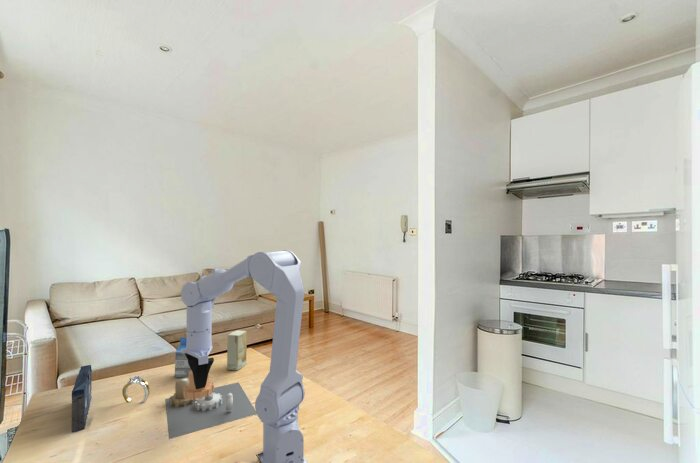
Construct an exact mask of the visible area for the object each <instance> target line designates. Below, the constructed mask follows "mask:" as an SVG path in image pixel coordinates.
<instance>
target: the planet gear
mask: <svg viewBox="0 0 700 463" xmlns="http://www.w3.org/2000/svg"><path fill="white" fill-rule="evenodd" d="M188 378H189V384H188V385H187V387H185V388H183V395H184V398H189V399H190V400H193V399H198V398H199V399H202V397H206V396H209V395H211V393H212V392H214V388H215V384H214V382H213V381H210V372H209V373H208V378H207V383H206V386H205V388H200V389H196V388H195V384H194V378H193V373H192V370H190V371H189V377H188Z"/></svg>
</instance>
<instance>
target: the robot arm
mask: <svg viewBox="0 0 700 463" xmlns="http://www.w3.org/2000/svg"><path fill="white" fill-rule="evenodd" d="M301 268H302V262H301V260H300V259H299V258H298V256H297V255H296V253H294V252H293V251H291V250H289V249H285V250H280V251H279V250H277V251H265V252H264V251H259V252H255V253H254V254H251V255H248V256H246V258H245V259H244V260H242V261H240V262H238V263H236V265H234V266H231V267H230V268H228V269H227V270H226V269H224V268H218V267H217V268H214V269H212V270H210V272H211V273H210V274H207V275H202V276H200V277H199V279H198V280H197V281H187V282H186V283H185V284H184V285H183V286H182V288H181V291H180V297H181V300H182V302H183V304H184V305H185V306H186V337H187V340H186V348H182V349H181V353H185V355H186V357H187V359H188V365H189V366H190V368H191V370H192V373H193V378H194V384H195V388H196V389H200V388H205V386H206V383H207V378H208V373H209V374H210V370H211V367H212V366H213V364H214V362H215V359H214V357H209V355H210V353H211V352H212V350H213V344H212V343H213V340H212V332H213V329H212V324H213V323H212V322H213V320H212V319H213V316H212V315H213V314H212V312H213V311H212V310H213V309H214V307H215V300H216V299H217V297H220V296H222V295H223V294H225V293H228V292H230V291H231V290H232V289H233V287H234V284H235V283H238V282H239V281H241V280H244V279H246V278H252V279H253V280H254V281H255V282H256V283H257V284H259V285H260V286H262V288H264V289H265V290H266V291H268V292H269V293H270V294H272V295H273V296H274V297H275V298H276V306H275V315H274V326H273V333H272V334H273V335H272V345H271V355H270V365H269V372H268V373H267V375H266V377H265V378H264V380H263V381H262V383H261V384H260V389H259V393H258V396H257V397H256V398H255V402H254V406H255V407H254V409H255V411H256V413H257V414H256V415H257V418H258V419H259V420H260V423H261V422H262V423H263V424H262V427H263V428H262V432H263V434H262V436H263V437H262V442H263V443H262V452H260V453H257V457H258V459H259V460H260V462H261V463H308V461H307V460H306V458H305V457H304V444H305V442H304V435H303V433H302V430H301V429H300V427H299V423H298V422H299V414H298V413H299V411H300V405H301V403H302V402H303V401H304V398H305V388H304V384H303V383H304V382H303V379H304V376H303V374H302V373H301V372H299V371H298V370H297V364H298V356H299V346H300V345H299V344H300V336H301V327H302V316H303V309H304V308H303V307H304V300H305V299H304V298H305V288H304V283H303V279H302V275H301Z"/></svg>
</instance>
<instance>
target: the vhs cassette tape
mask: <svg viewBox="0 0 700 463" xmlns="http://www.w3.org/2000/svg"><path fill="white" fill-rule="evenodd" d="M92 371H93V370H92V365H91V364H88V365H82V366H80V369H79V371H78V374H77V376H76V379H75V383H74V386H73V389H72V390H71V433H76V432H79V431H82V430H85V429H86V424H87V421H86V420H88V416H87V415H89V412H88V411H90V407H91V403H90V402H92Z"/></svg>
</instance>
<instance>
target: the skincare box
mask: <svg viewBox="0 0 700 463" xmlns="http://www.w3.org/2000/svg"><path fill="white" fill-rule="evenodd" d="M247 333H248V332H247V330H235V331H232V332H231V333H229V334H227V344H226V345H227V349H226V352H227V354H226V360H227V361H226V362H227V363H226V370H230V371H239V370H240V369H241V368H243V367H245V366H246V365H247V345H248V344H247V341H248V340H247V338H248V337H247V336H248V334H247Z"/></svg>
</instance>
